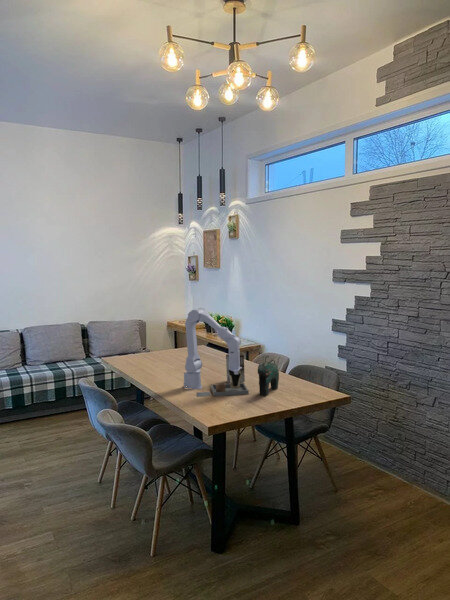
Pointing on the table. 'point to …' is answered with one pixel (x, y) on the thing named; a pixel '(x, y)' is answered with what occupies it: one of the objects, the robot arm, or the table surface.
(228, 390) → the bin
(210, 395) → the slate coaster
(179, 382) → the table surface
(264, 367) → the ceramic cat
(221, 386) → the walnut box
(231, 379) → the birch box
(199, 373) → the robot arm
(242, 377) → the coffee box
